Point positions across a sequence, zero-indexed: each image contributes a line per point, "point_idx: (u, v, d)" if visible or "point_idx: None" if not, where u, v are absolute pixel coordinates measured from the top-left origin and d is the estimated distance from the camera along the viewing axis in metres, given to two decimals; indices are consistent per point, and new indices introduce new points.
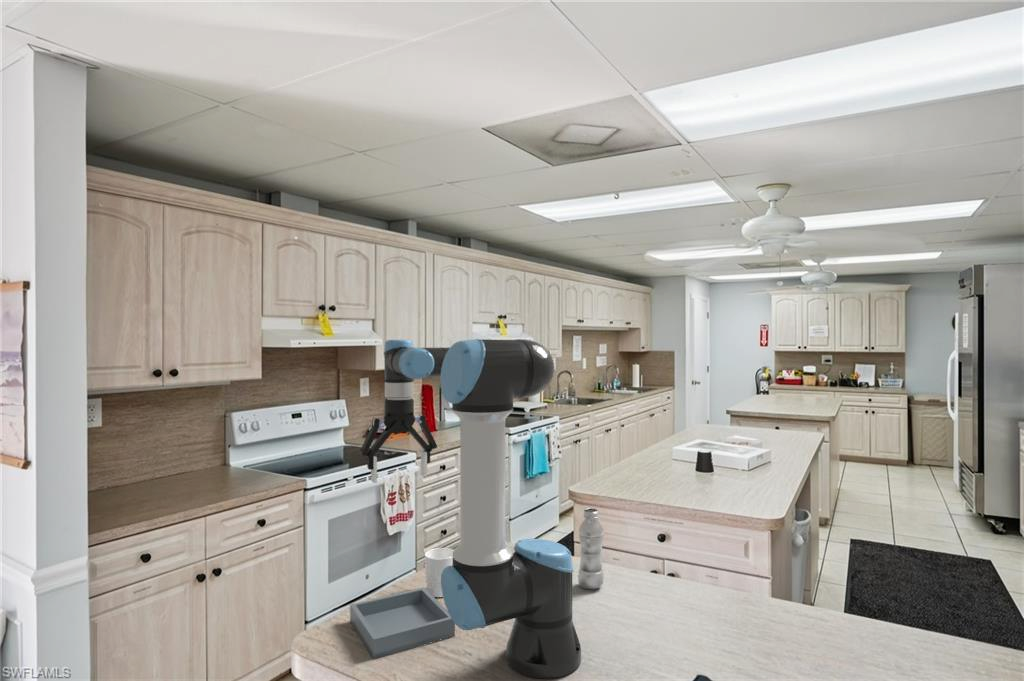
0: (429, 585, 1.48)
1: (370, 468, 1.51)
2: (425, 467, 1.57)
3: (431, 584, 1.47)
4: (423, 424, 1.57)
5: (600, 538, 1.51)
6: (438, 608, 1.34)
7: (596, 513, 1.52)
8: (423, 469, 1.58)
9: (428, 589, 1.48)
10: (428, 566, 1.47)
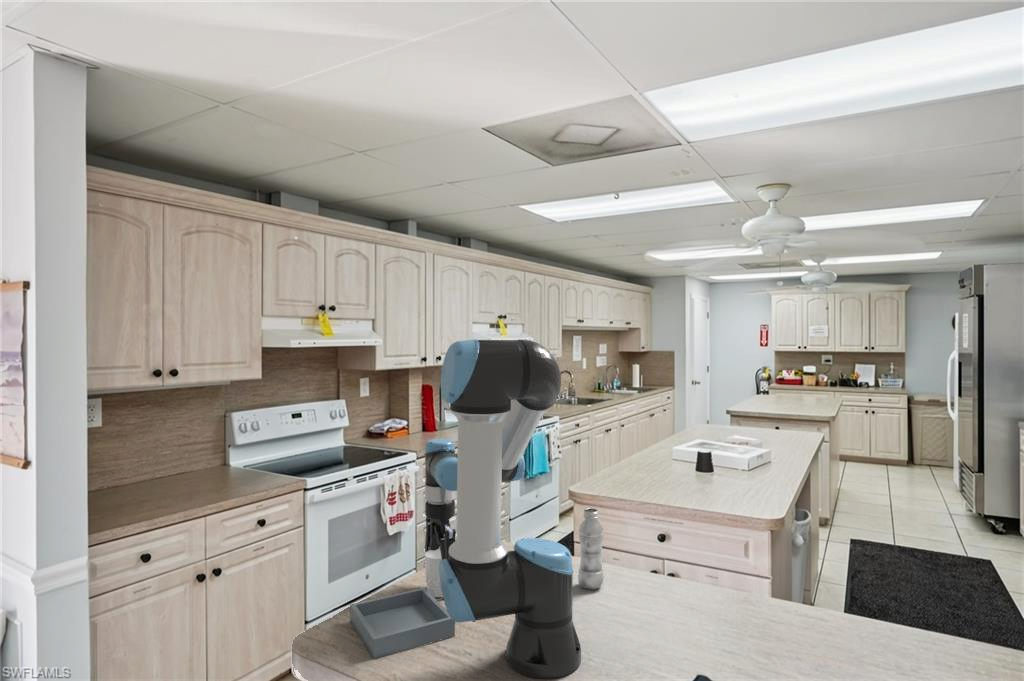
0: (429, 585, 1.48)
1: None
2: (441, 587, 1.46)
3: (431, 584, 1.47)
4: (444, 539, 1.45)
5: (600, 538, 1.51)
6: (438, 608, 1.34)
7: (596, 513, 1.52)
8: None
9: (428, 589, 1.48)
10: (428, 566, 1.47)
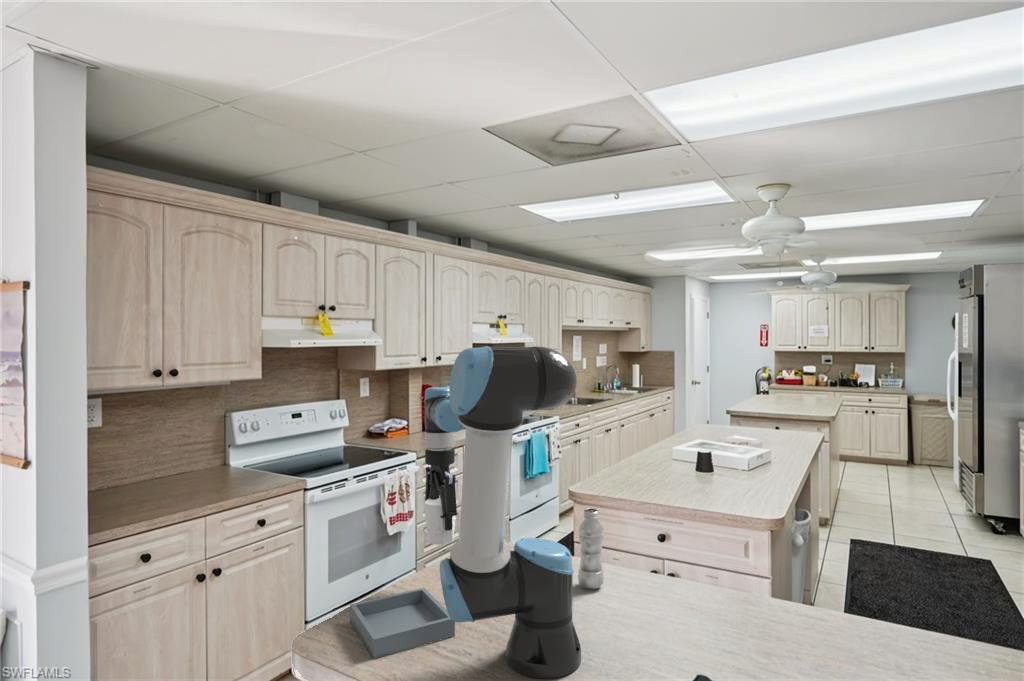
0: (429, 532, 1.48)
1: None
2: (441, 533, 1.46)
3: (431, 531, 1.47)
4: (444, 485, 1.45)
5: (600, 538, 1.51)
6: (438, 608, 1.34)
7: (596, 513, 1.52)
8: None
9: (428, 536, 1.48)
10: (428, 513, 1.47)
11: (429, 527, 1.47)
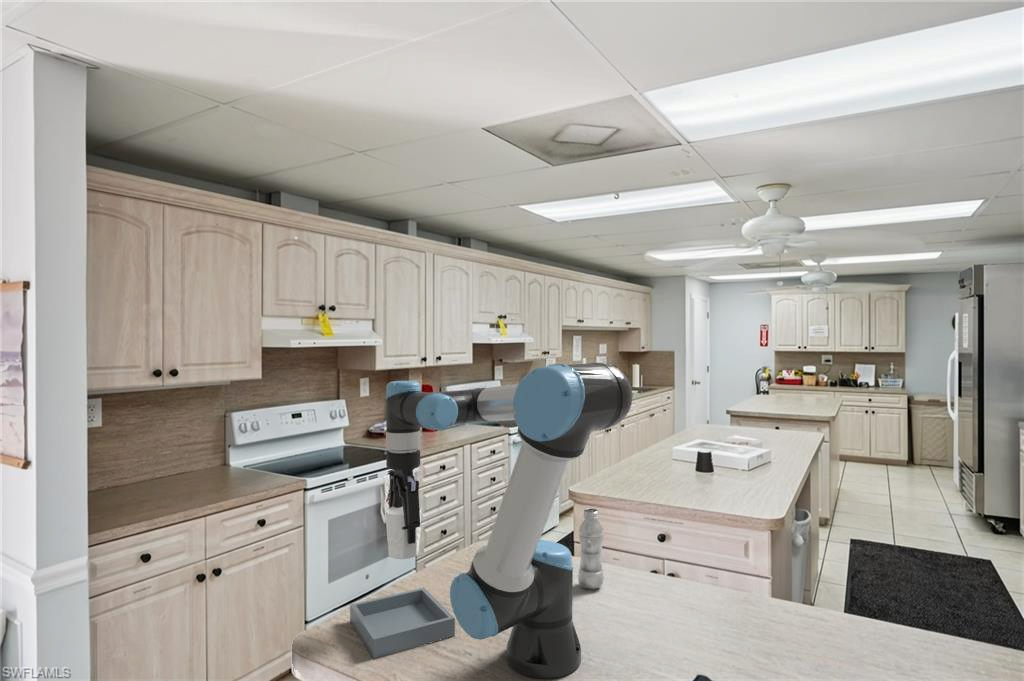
0: (390, 545, 1.30)
1: None
2: (403, 546, 1.28)
3: (392, 544, 1.30)
4: (406, 492, 1.27)
5: (600, 538, 1.51)
6: (438, 608, 1.34)
7: (596, 513, 1.52)
8: None
9: (389, 550, 1.31)
10: (389, 524, 1.30)
11: (390, 539, 1.30)
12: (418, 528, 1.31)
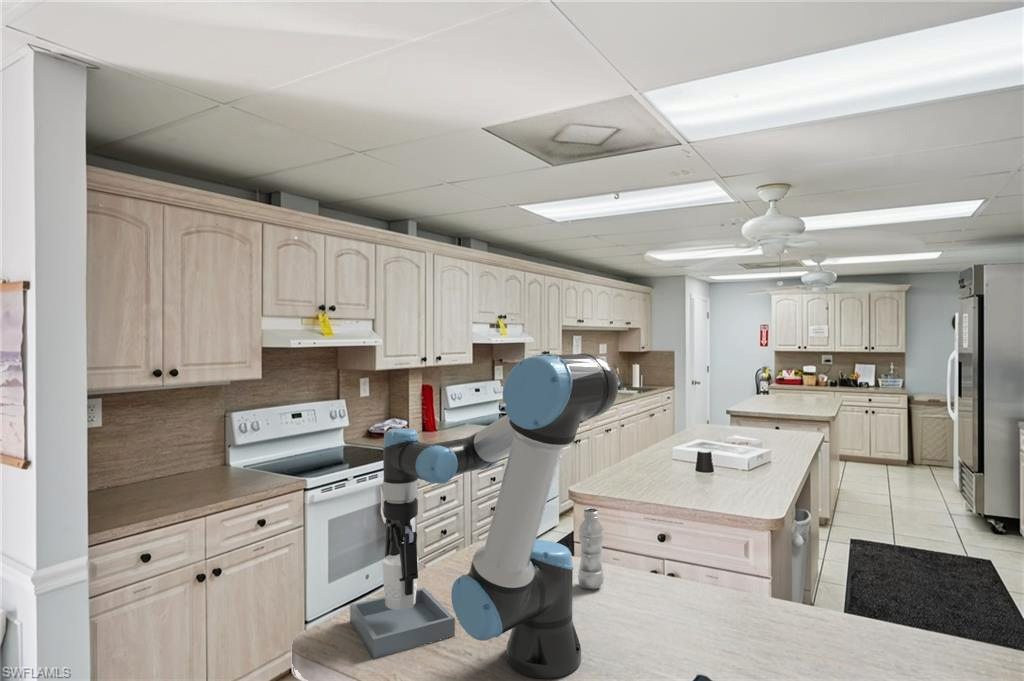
0: (387, 595, 1.29)
1: None
2: (401, 598, 1.27)
3: (389, 594, 1.29)
4: (404, 544, 1.26)
5: (600, 538, 1.51)
6: (438, 608, 1.34)
7: (596, 513, 1.52)
8: None
9: (386, 600, 1.30)
10: (386, 574, 1.29)
11: (387, 590, 1.29)
12: None
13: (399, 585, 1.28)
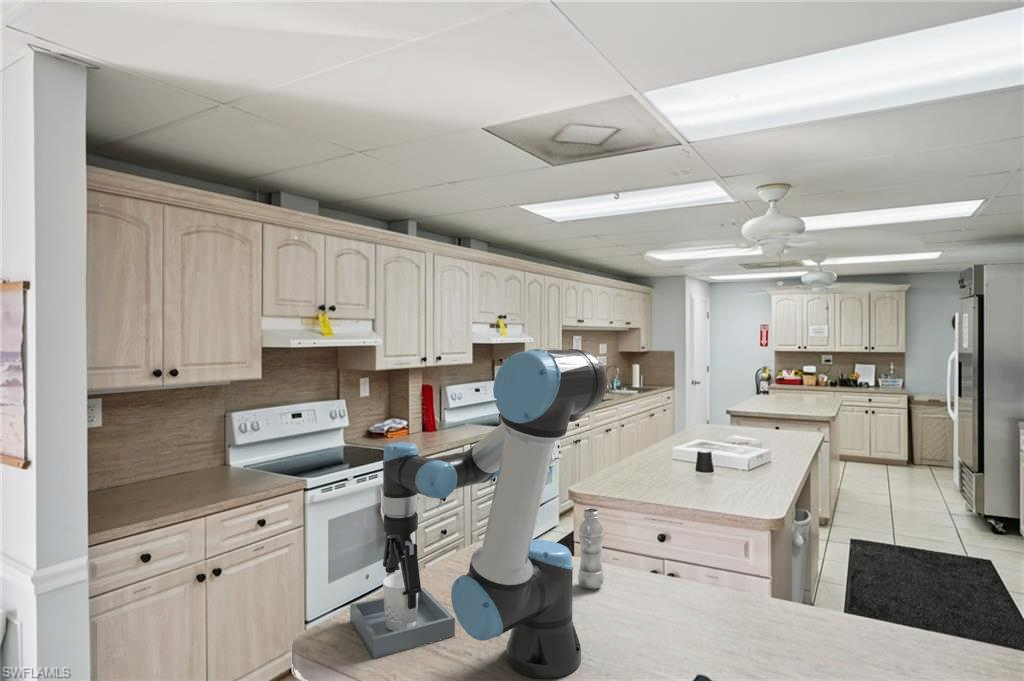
0: (387, 617, 1.29)
1: None
2: (404, 611, 1.26)
3: (389, 616, 1.28)
4: (405, 556, 1.26)
5: (600, 538, 1.51)
6: (438, 608, 1.34)
7: (596, 513, 1.52)
8: None
9: (386, 621, 1.29)
10: (386, 596, 1.28)
11: (387, 611, 1.29)
12: None
13: (400, 607, 1.28)
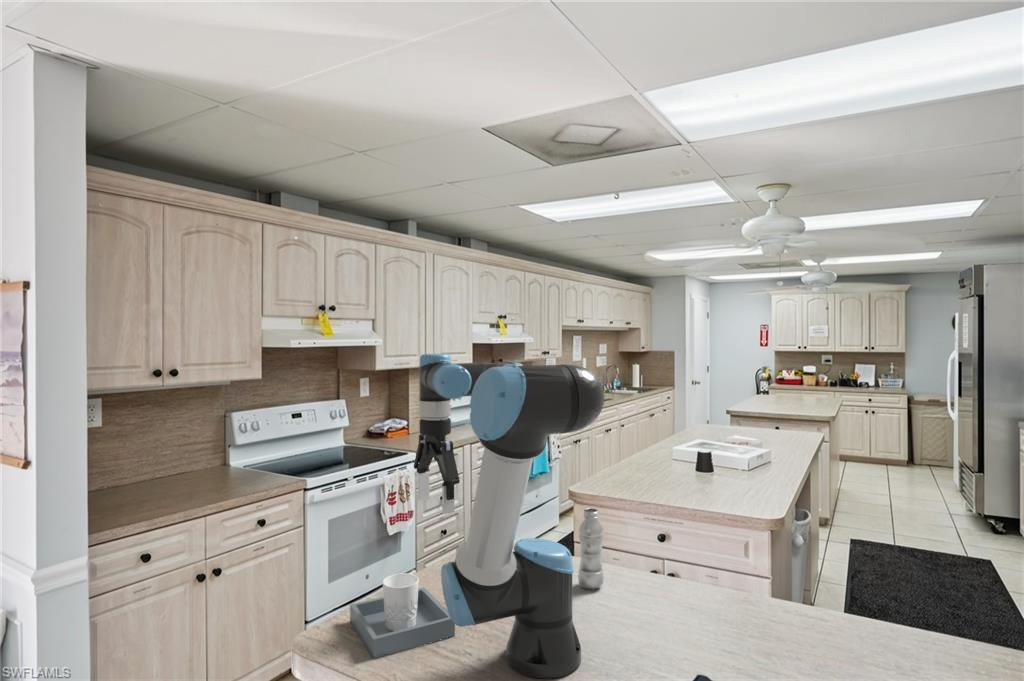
0: (387, 617, 1.29)
1: None
2: (442, 503, 1.36)
3: (389, 616, 1.28)
4: (442, 452, 1.36)
5: (600, 538, 1.51)
6: (438, 608, 1.34)
7: (596, 513, 1.52)
8: None
9: (386, 622, 1.29)
10: (386, 596, 1.28)
11: (387, 611, 1.29)
12: (416, 599, 1.30)
13: (400, 607, 1.28)
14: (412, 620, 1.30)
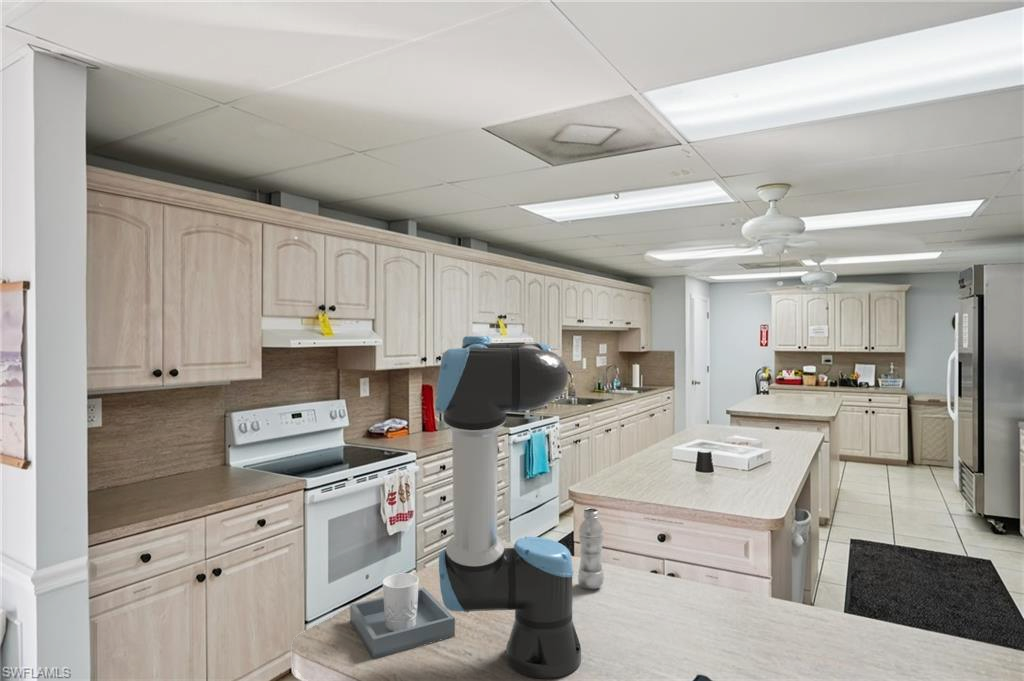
0: (387, 617, 1.29)
1: None
2: None
3: (389, 616, 1.28)
4: None
5: (600, 538, 1.51)
6: (438, 608, 1.34)
7: (596, 513, 1.52)
8: None
9: (386, 622, 1.29)
10: (386, 596, 1.28)
11: (387, 611, 1.29)
12: (416, 599, 1.30)
13: (400, 607, 1.28)
14: (412, 620, 1.30)
